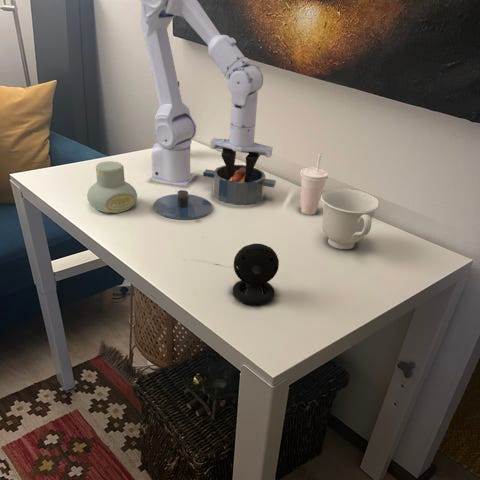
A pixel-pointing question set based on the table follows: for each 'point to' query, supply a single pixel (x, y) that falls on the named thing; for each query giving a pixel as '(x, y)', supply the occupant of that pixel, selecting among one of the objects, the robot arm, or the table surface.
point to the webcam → (255, 273)
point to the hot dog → (239, 175)
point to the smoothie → (312, 187)
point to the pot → (238, 186)
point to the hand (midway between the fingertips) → (239, 181)
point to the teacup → (347, 216)
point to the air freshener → (111, 189)
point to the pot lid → (182, 206)
